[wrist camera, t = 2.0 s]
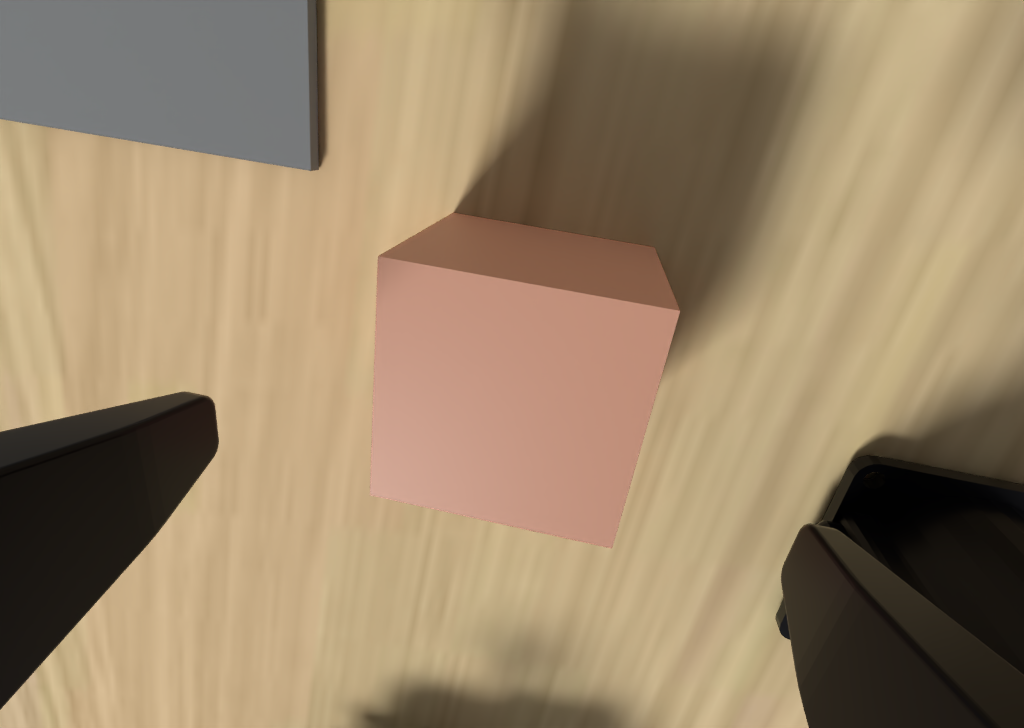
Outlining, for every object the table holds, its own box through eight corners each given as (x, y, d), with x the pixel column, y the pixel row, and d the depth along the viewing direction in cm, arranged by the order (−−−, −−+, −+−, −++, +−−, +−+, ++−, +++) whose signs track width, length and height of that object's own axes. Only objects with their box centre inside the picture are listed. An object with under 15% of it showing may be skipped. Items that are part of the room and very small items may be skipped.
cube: (654, 246, 13) (680, 310, 9) (609, 422, 15) (611, 548, 11) (453, 212, 13) (377, 256, 9) (437, 387, 16) (369, 495, 11)
